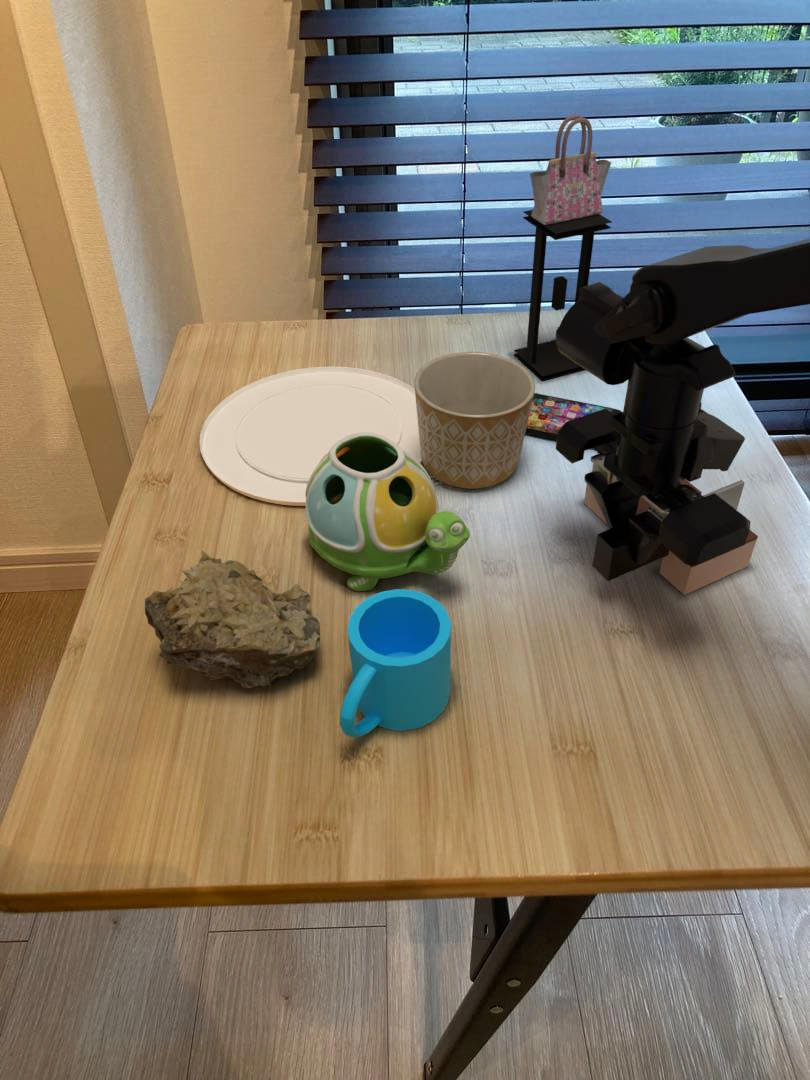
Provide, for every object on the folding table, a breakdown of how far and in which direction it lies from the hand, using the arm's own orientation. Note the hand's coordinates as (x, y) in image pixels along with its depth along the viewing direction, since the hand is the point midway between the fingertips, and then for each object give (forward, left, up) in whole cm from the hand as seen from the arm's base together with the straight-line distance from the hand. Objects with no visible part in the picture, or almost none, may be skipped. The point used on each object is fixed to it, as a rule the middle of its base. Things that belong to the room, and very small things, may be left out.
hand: (631, 553), depth 78 cm
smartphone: (+26, -10, -4) cm, 28 cm away
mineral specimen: (+10, +34, -4) cm, 36 cm away
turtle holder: (+15, +18, -4) cm, 24 cm away
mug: (-2, +26, -4) cm, 26 cm away
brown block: (-2, -8, -4) cm, 9 cm away
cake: (+8, -8, -4) cm, 12 cm away
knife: (0, -5, -1) cm, 5 cm away
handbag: (+38, -18, -4) cm, 42 cm away
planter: (+24, +3, -4) cm, 25 cm away
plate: (+38, +16, -4) cm, 41 cm away
